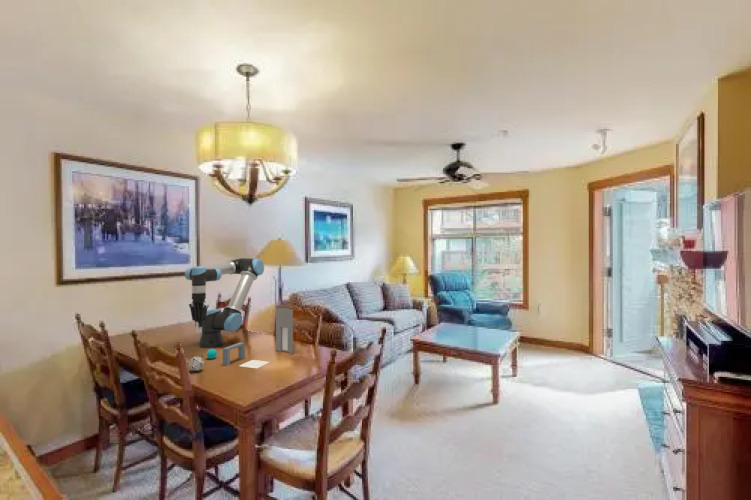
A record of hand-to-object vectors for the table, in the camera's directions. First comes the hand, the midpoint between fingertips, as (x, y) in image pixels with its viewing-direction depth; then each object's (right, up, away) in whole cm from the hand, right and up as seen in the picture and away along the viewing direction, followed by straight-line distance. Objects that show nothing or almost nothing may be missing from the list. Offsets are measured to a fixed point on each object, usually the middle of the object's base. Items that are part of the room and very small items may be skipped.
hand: (198, 332), depth 226 cm
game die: (+10, -15, -25) cm, 31 cm away
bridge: (+24, -15, -8) cm, 29 cm away
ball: (+9, -12, -3) cm, 15 cm away
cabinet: (+47, -15, +15) cm, 51 cm away
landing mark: (+37, -15, -13) cm, 42 cm away
